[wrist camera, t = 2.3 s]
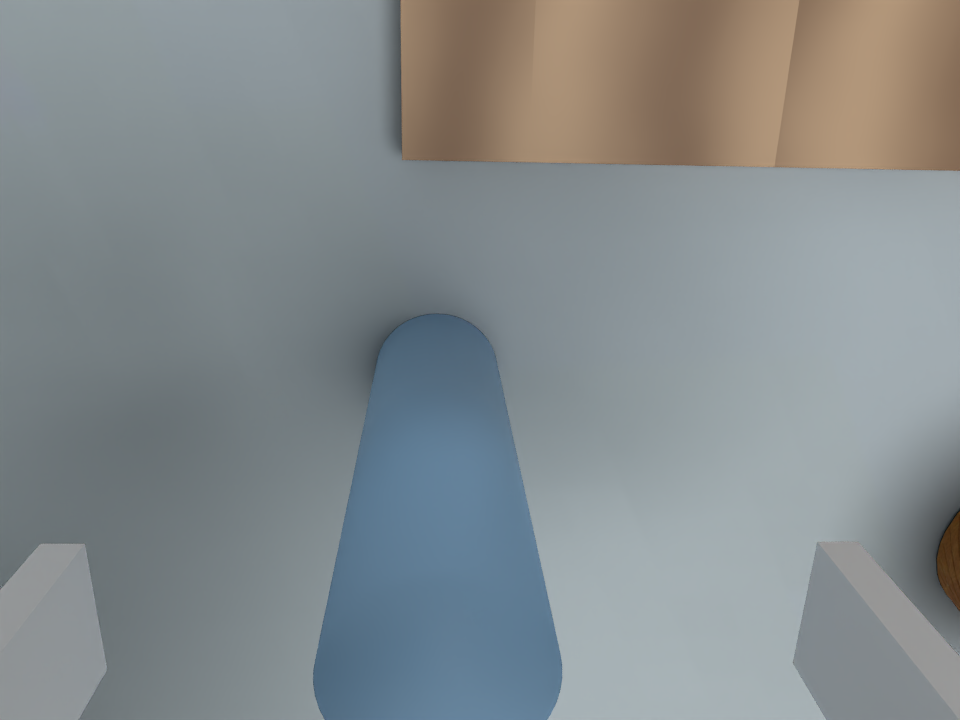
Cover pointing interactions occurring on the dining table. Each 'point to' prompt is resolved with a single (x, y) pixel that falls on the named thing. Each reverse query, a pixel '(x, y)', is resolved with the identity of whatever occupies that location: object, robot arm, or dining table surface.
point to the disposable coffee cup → (950, 561)
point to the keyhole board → (683, 82)
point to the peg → (437, 549)
